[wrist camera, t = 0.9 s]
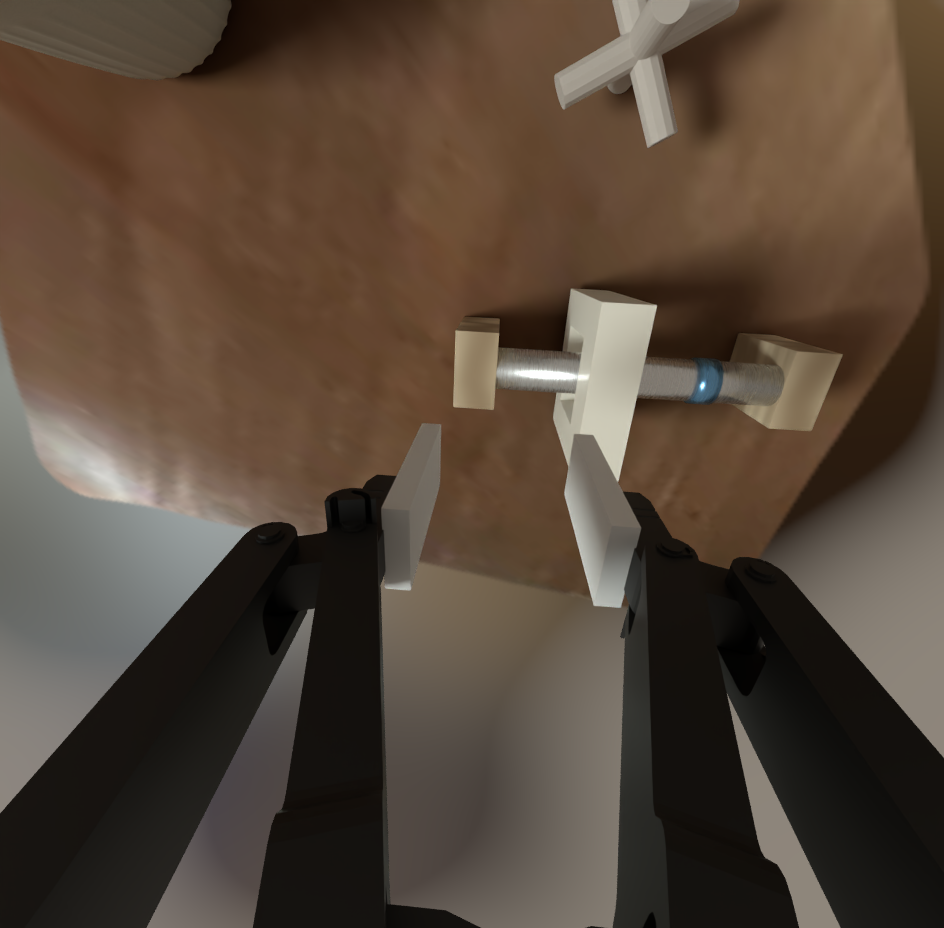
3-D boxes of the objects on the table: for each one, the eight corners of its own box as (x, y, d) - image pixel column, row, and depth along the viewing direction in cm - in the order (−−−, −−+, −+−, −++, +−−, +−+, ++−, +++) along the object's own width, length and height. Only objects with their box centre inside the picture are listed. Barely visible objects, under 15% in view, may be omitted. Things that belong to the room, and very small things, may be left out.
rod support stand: (462, 379, 40) (453, 406, 32) (464, 316, 37) (455, 330, 30) (753, 398, 39) (811, 431, 31) (775, 335, 36) (842, 354, 29)
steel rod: (463, 381, 35) (460, 393, 32) (465, 339, 33) (462, 347, 30) (784, 402, 34) (811, 417, 31) (799, 360, 32) (830, 370, 29)
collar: (553, 418, 40) (572, 478, 29) (571, 288, 35) (602, 302, 24) (586, 420, 39) (618, 482, 29) (608, 290, 35) (657, 305, 24)
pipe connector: (710, 120, 30) (798, 63, 21) (573, 190, 33) (600, 165, 24) (676, -62, 27) (764, -223, 18) (525, 31, 29) (535, -70, 20)
